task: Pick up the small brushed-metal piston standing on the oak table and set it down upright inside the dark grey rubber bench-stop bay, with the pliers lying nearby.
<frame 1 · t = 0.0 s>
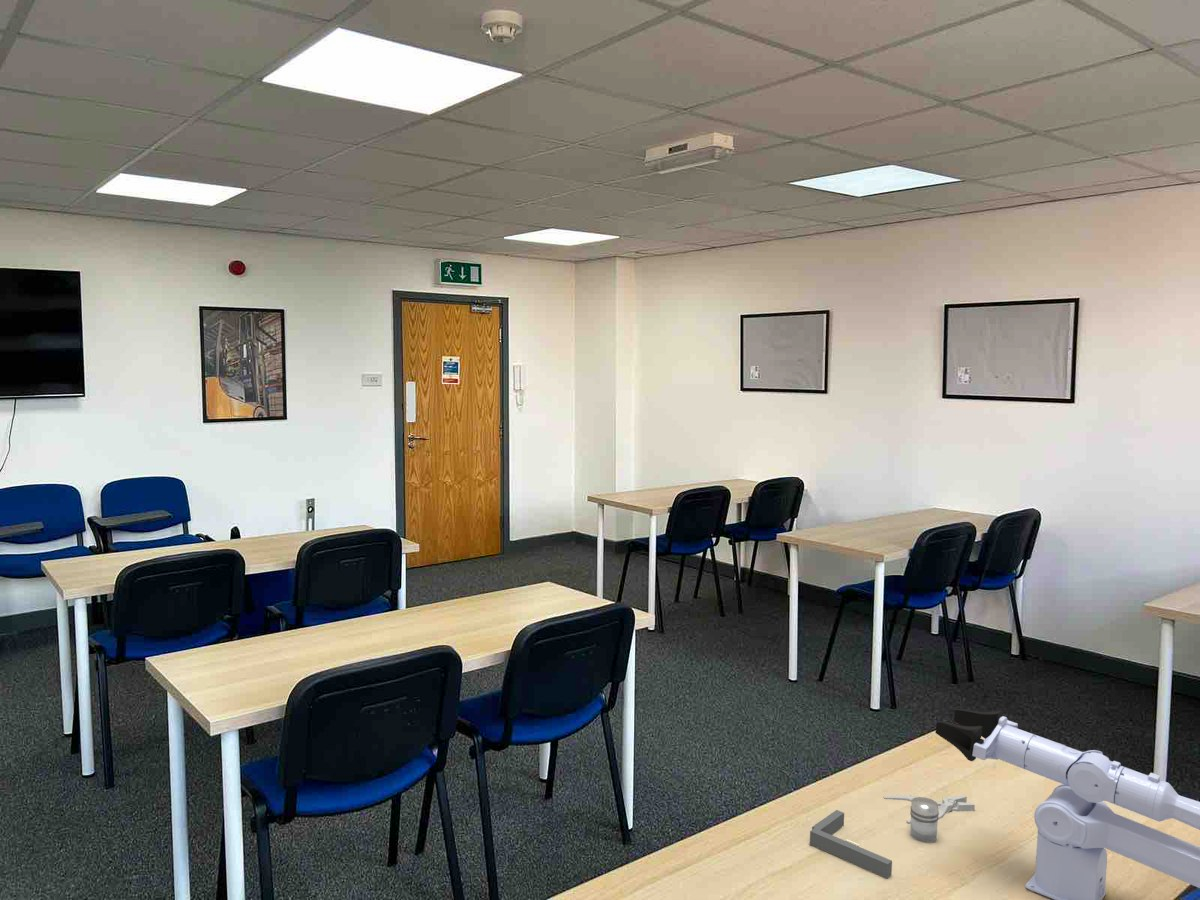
hand: (946, 720, 145), 22 cm above the table, tool horizontal, fingers open, 7 cm apart
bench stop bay: (887, 852, 144), on the table
pliers: (932, 811, 159), on the table
piston: (923, 836, 149), on the table
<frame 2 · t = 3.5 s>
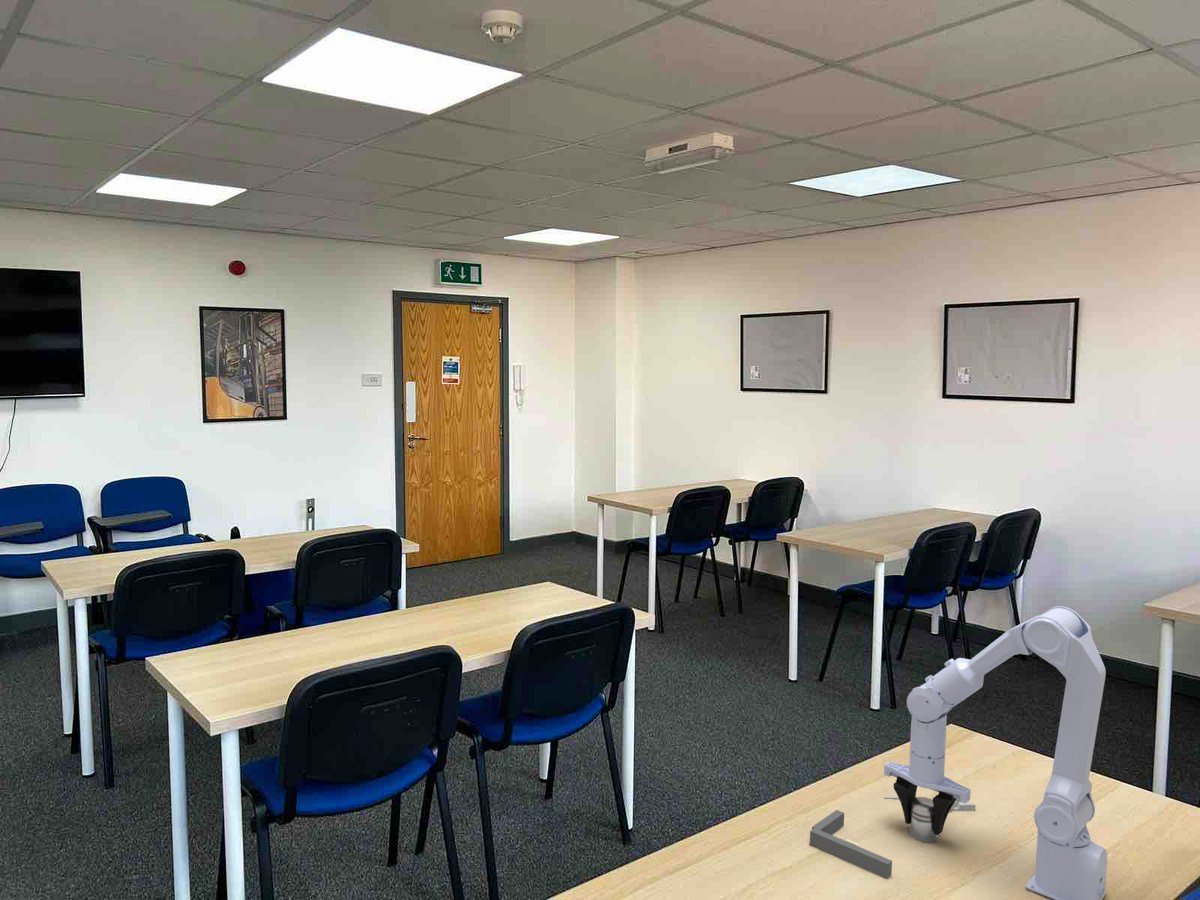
hand: (923, 827, 149), 2 cm above the table, tool pointing down, fingers closed on piston, 4 cm apart
piston: (923, 835, 149), on the table, touching gripper
everything else where it was.
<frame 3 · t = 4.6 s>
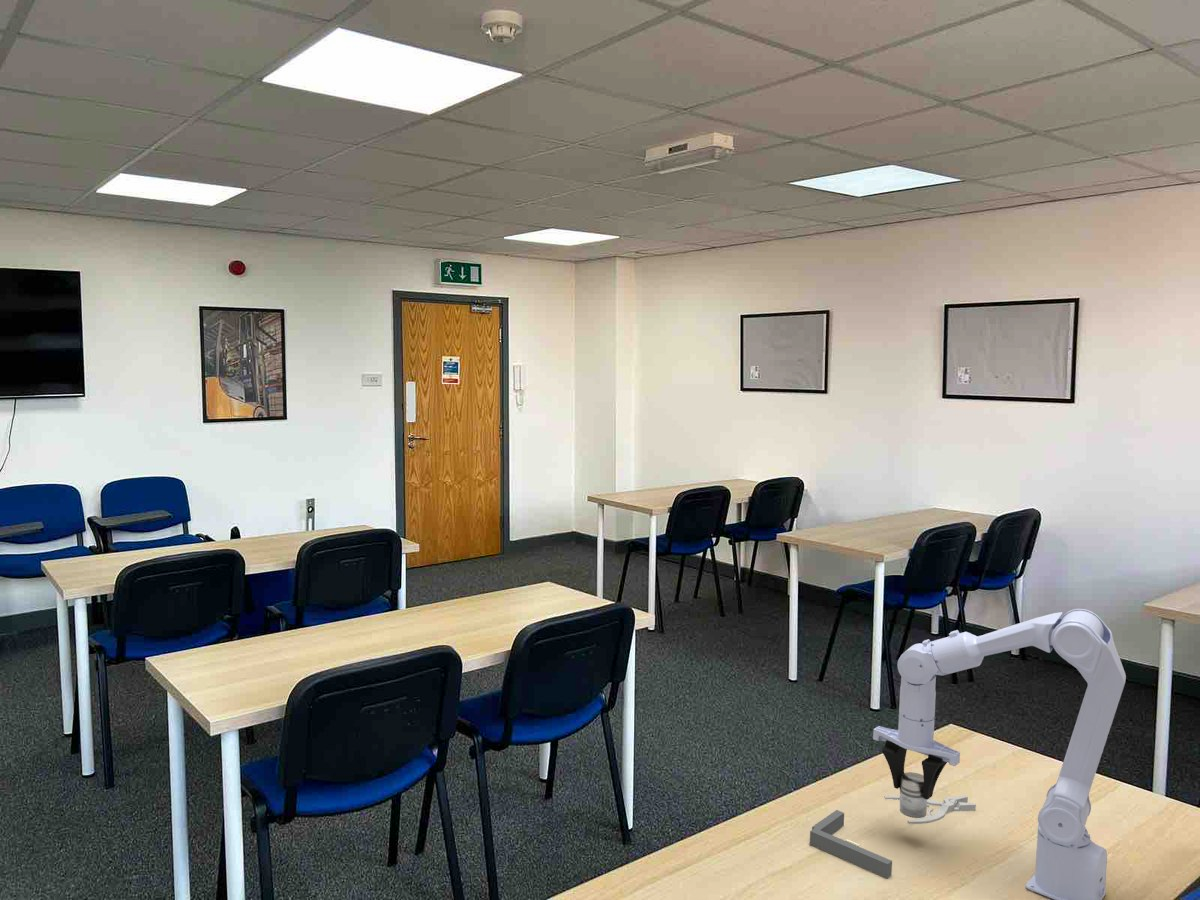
hand: (912, 791, 146), 9 cm above the table, tool pointing down, fingers closed on piston, 5 cm apart
piston: (912, 811, 147), point 5 cm above the table, touching gripper
everything else where it was.
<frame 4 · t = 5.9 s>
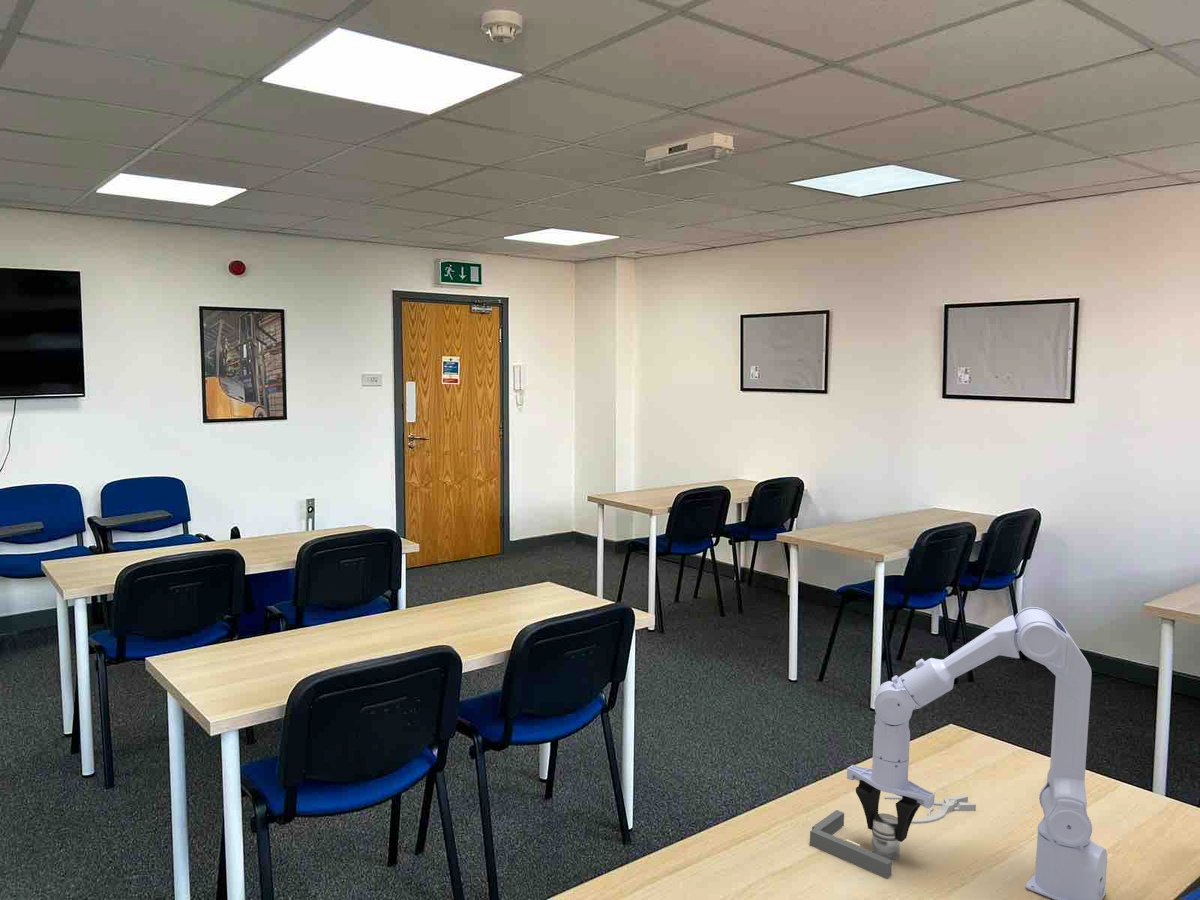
hand: (887, 833, 143), 4 cm above the table, tool pointing down, fingers closed on piston, 5 cm apart
piston: (885, 854, 143), on the table, touching gripper
everything else where it was.
when the fingers open (3 cm above the table, at t = 6.6 s): piston stays where it is, on the table.
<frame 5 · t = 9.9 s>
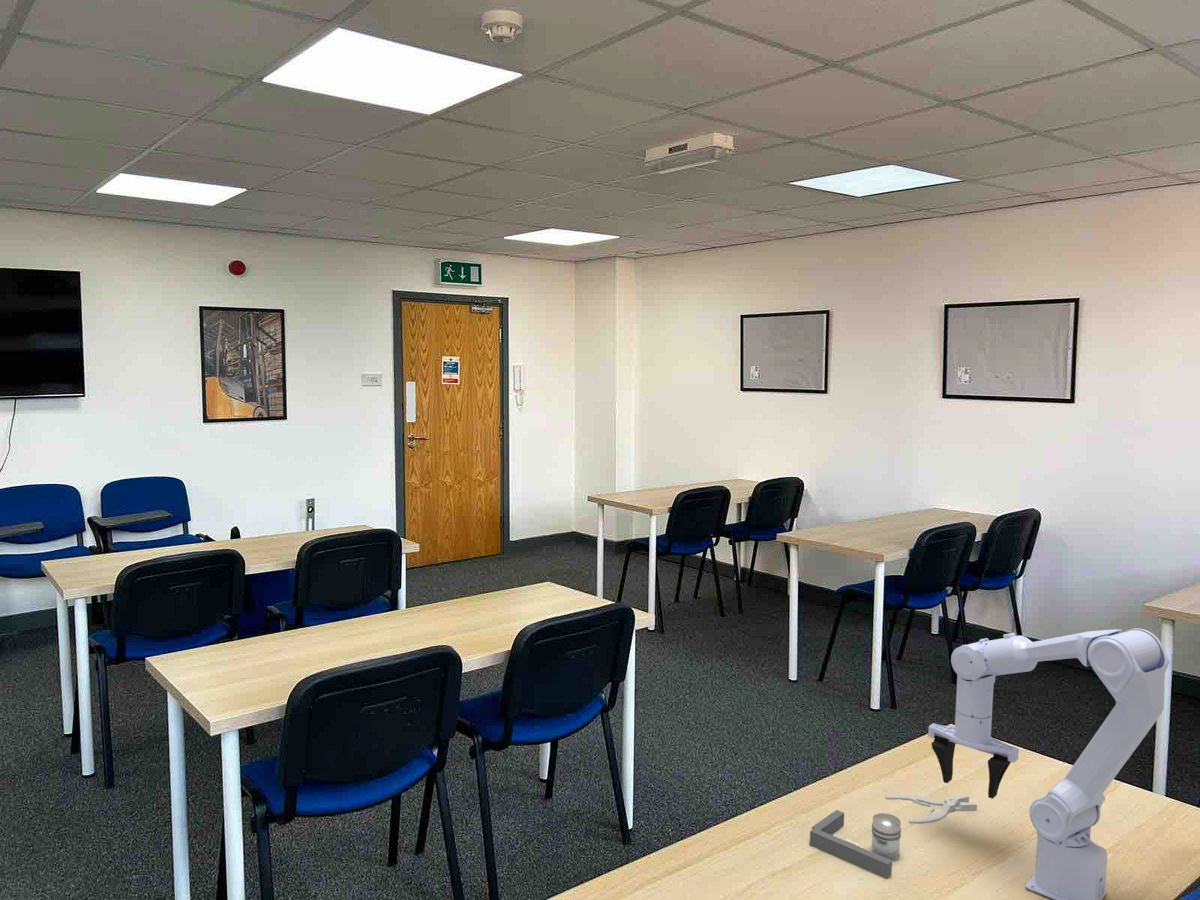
hand: (969, 788, 147), 9 cm above the table, tool pointing down, fingers open, 7 cm apart
piston: (885, 854, 143), on the table
everything else where it was.
at the end: piston inside the target area (0.7 cm from its centre), on the table; piston tilted 0°; the gripper is holding nothing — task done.
